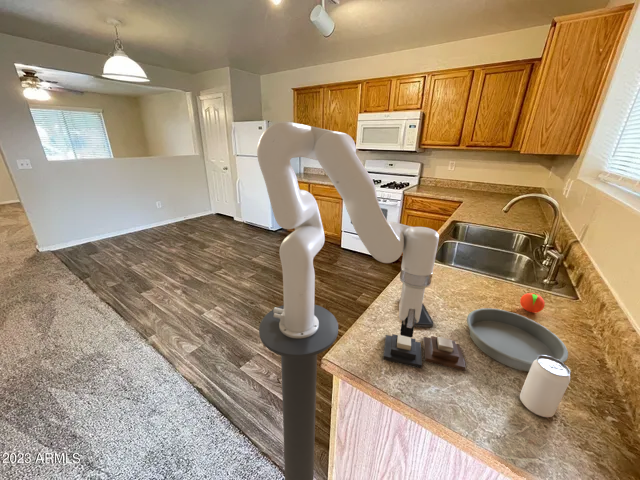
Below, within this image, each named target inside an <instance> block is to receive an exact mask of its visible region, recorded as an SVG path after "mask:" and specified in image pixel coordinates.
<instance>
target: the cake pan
mask: <svg viewBox="0 0 640 480" xmlns="http://www.w3.org/2000/svg"><path fill="white" fill-rule="evenodd" d="M466 324H467V326H468V328H469V336H470V338H471V340H472V342H473V343H474V344H475V346H476V347H477V348H478V349H479V350H481V351H482V352H483V353H484V354H485V355H487V356H488V357H490V358H491V359H492V360H494V361H496V362H498V363H501V364H502V365H505V366H507V367H510V368H513V369H514V370H517V371H522V372H528V373H529V370H530V368H531V365H532V363H533V361H534V360H536V359H537V357H538V356H541V355H545V356H550V357H553V358H555V359H557V360H559V361H561V362H562V363H564V364H565V362H566V361H567V360H568V358H569V351H568V348H567V346H566V344H565V342H564V341H562V339H561V338H560V337H559V336H557V335H556V334H555V332H553V331H551V330H550V329H548V328H547V327H545V326H544V325H543V324H540V322H537V321H535V320H534V319H531V318H529V317H527V316H524V315H522V314H519V313H516V312H512V311H508V310H506V309H505V310H504V309H500V308H493V307H492V308H491V307H489V308H488V307H487V308H486V307H485V308H477V309H475V310H471V312H469V313H468V315H467V316H466Z"/></svg>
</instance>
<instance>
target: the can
mask: <svg viewBox="0 0 640 480" xmlns="http://www.w3.org/2000/svg"><path fill="white" fill-rule="evenodd" d="M571 373H572V372H571V369H570V368H569V366H567V364H565V362H564V363H562V362H561V361H559V360H557V359H555V358H553V357H550V356H545V355H541V356H538V357H537V359H536V360H534V361H533V363H532V365H531V368H530V370H529V372H528V373H527V375H526V378H525V379H524V380H525V381H524V383H523V386H522V388H521V391H520V394H519V399H520V402H521V403H522V404H523V406H524V407H525V408H526V409H527V410H529V411H530V412H531V413H533V414H534V415H537V416H539V417H542V418H552V417H554V415H555V414H556V412H557V410H558V408H559V406H560V404H561V402H562V400H563V398H564V396H565V394H566V391H567V389H568V388H569V385H570V383H571Z"/></svg>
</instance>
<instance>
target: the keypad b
mask: <svg viewBox="0 0 640 480" xmlns="http://www.w3.org/2000/svg"><path fill="white" fill-rule="evenodd" d="M437 338H438V336H434V335H430V337H427V336H423V338H422V342H423V343H422V344H423V356H424V362H426V363H430V364H434V365H438V366H444V367H447V368H451V369H456V370H460V371H466V363H465V359H464V356H463V351H462V348H461V345H460V343H456V340H454V339H451V340H452V344H453V351H452V352H447V351H443V350H438V346H437Z"/></svg>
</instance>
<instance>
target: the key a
mask: <svg viewBox="0 0 640 480" xmlns="http://www.w3.org/2000/svg"><path fill="white" fill-rule="evenodd" d="M397 335H398V337H397V348H401V349H405V350H409V351H410V349H411V338H412V337H406V336H402V335H400V334H397Z"/></svg>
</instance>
